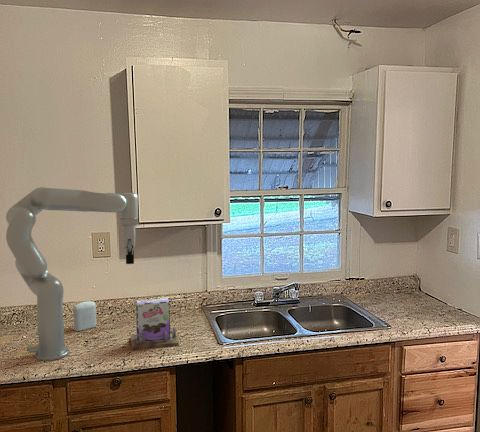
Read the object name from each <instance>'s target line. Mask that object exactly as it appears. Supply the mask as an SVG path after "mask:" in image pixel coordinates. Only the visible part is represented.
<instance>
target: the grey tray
mask: <svg viewBox="0 0 480 432" xmlns="http://www.w3.org/2000/svg"><path fill="white" fill-rule="evenodd" d="M176 328H177V327H175V326H174V327H172V330H170V339H167V332H164V340H156V341H145V334H142V342H137V334H132V335H130V345H131V351H137V350H145V349H147V348H148V349H156V347H157V348H166V346H167V347H174V346H176V345H177V346H180V343H179V342H180V341H179V339H178V337H177V336H178V335H177V333H176V332H177V329H176ZM148 349H147V350H148Z"/></svg>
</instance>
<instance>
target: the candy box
mask: <svg viewBox="0 0 480 432" xmlns="http://www.w3.org/2000/svg"><path fill="white" fill-rule="evenodd" d="M170 306H171V305H170V300H169V298H168V297H166V298H157V299H156V298H154V299H142V300H141V299H140V300H137V299H136V300H135V322H136V323H135V324H136V335H137V342H142V334H145V341H156V340H164V332H167V339H170V331H171V315H170V314H171V313H170V312H171V311H170Z"/></svg>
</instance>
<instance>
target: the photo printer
mask: <svg viewBox="0 0 480 432" xmlns="http://www.w3.org/2000/svg"><path fill="white" fill-rule="evenodd" d="M72 308H73V309H72V311H73V330H74V332H79V331H80V332H81V331H84V330H85V331H86V330H89V329H93V328H95V327H97V324H98V323H97V305H96V302H95V301H92V300H91V301H89V300H88V301H82V302H80V303H76V304H75V305H73V307H72Z"/></svg>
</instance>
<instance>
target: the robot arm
mask: <svg viewBox="0 0 480 432" xmlns="http://www.w3.org/2000/svg"><path fill="white" fill-rule="evenodd" d="M42 211H62V212H63V211H68V212H83V213H84V212H85V213H86V212H87V213H88V212H95V213H97V212H98V213H119V223H120V224H119V226H121V227H122V249H123V250H125V249H126V250H125V264H126V265H134V264H135V253H134V252H135V246H136V234H137V233H136V230H137V229H136V227H137V226H139V198H138V194H137V193H134V192H123V193H115V192H105V193H104V192H103V193H102V192H95V191H88V190H83V189H82V190H81V189H73V188H72V189H71V188H70V189H68V188H56V187H54V188H52V187H43V186H39V187H37V188H35V189H33V190H31V192H29V193H28V194H26V195H25V196H24V197H23V198H21V199H19V200H18V201H17V202H16V203H15V204H13V205H12V206H11V207H10V208H9V209H8V210H7V212H6V215H5V219H6V222H7V224H8V226H7V228H6V232H5V233H6V235H5V236H6V237H5V239H6V244H7V246H8V248H9V250H10V251H11V254H12V255H13V257H14V258H15V260H14V261H15V262H14V263H15V267H16V269H17V271H18V274H20V276H21V277H22V279H23V280H24V282H25V283H26V285H27V287H28V289H29V290H30V291H31V292H32V293H33V294H34V295H35V296H36V320H37V321H36V322H37V323H36V324H37V335H38V336H37V337H38V344H36V345H27V347H26V351H27V352H29V353H32V354H33V353H35V354H34V355H35V356H34V357H35V359H36V360H39V361H46V362H47V361H54V360H59V359H62V358H64V357H67V356H68V355H69V354H70V348H69V347H68V346H66V345H65V326H64V323H65V322H64V311H63V310H64V309H63V308H64V307H63V304H64V303H63V302H64V287H63V286H64V285H63V283H62V282H61V280H60V279H58V277H56V276H55V275H52V274H51V273H50V271H49V270H48V263H47V260H46V258H45V257H44V256H43V254H42V252H41V251H40V250H39V248H38V245H36V243H35V241H34V239H33V237H32V230H33V227H34V226H35V224H36V222H37V215H38V214H40V213H41V212H42Z"/></svg>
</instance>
